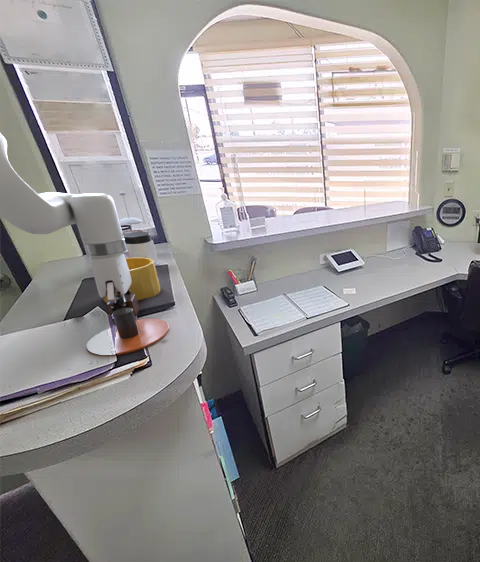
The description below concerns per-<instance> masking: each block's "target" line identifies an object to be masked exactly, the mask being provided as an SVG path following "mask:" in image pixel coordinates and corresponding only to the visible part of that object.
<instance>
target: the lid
mask: <svg viewBox="0 0 480 562" xmlns="http://www.w3.org/2000/svg"><path fill="white" fill-rule="evenodd" d="M112 314H113V317H114V320H113V321H114V323H115V324H114V325H116V327H117V332H116V337H115V351H116V354H117V355H116V356H120V355H125V354H130V353H135V352H137V351H140V350H143V349H145V348H147V347H150V346H152V345H154V344H156V343H157V342H159V341H160V340H162V339H164V338H165V336H166V335H168V332H169V330H170V327H169V324H168V322H166V321H165V320H162V319H158V318H139V319H136V317H135V315H134V311H133V309H132V308H121V309H118V310H116V311H114V312H113V313H112Z"/></svg>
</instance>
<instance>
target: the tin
mask: <svg viewBox="0 0 480 562" xmlns="http://www.w3.org/2000/svg"><path fill="white" fill-rule="evenodd" d="M125 259H126V261H127V265H128V268H129V271H130V275H131V280H132V282H131V285H130V290H131V292H132V294H136V297H137V301H141V300H145V299H149V298H154V297H156V296H158V295H159V294H160V292H161V284H160V280H159V276H158V272H157V267H156V266H155V264H154V260H152V259H151V258H145V257H132V258H125ZM116 294H117V293H116ZM102 300H103V302H104V303H106V304H107V303H108V294H107V295H106V296H105V297H104V298H102Z"/></svg>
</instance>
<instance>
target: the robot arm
mask: <svg viewBox="0 0 480 562" xmlns="http://www.w3.org/2000/svg"><path fill="white" fill-rule="evenodd" d="M0 217H1V218H2V219H3V220H5V221H7V222H8V223H9V224H11V225H12V226H13V227H16V228H17V229H18V230H19V229H20V230H21V231H22V232H26V233H29V234H33V235H48V234H52V233H54V232H56V231H59V230H61V229H63V228H66V227H68V226H71V225H76V226H77V229H78V232H79V233H78V234H79V235H80V239H81V242H82V244H83V248H84V251H85V253H86V257H87V258H89V259H90V262H91V268H92V274H93V278H94V281H95V286H96V289H97V292H98V296H99V297H100V298H101V299H103V298H104V297H105V296H106V295H107V294H108V302H109V303H110V305H111V308H112V311H113V312H114V311H116V310H118V309H121V308H129V306H128V305H126V301H125V296H124V295H128V294H132V292H131V290H130V285H131V282H132V280H131V275H130V271H129V268H128V265H127V261H126V259H125V254H126V253H127V252H128V251H127V247H126V243H125V240H124V236H123V235H124V234H123V230H122V229H123V228H122V225H121V224H120V221H119V220H120V219H119V215H118V210H117V207H116V204H115V201H114V198H113V197H112V196H111V195H109V194H106V193H102V192H101V193H100V192H99V193H98V192H92V193H91V192H90V193H89V192H88V193H86V192H85V193H78V194H77V193H65V192H56V191H48V192H46V191H45V192H41V193H37V191H35V190H34V189H33V188H32V187H31V186H30V185H29V184H28V183H26V181H25V180H24V179H23V178H22V177H20V175H19V174H18V173H17V171H15V169H14V168H13V166H12V164H11V163H10V161H9V158H8V142H7V139H6V138H5V136H4V135H3V134H2V133H0ZM116 293H117V294H116ZM116 297H121V300H120V299H117V298H116Z"/></svg>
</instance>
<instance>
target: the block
mask: <svg viewBox="0 0 480 562" xmlns="http://www.w3.org/2000/svg"><path fill="white" fill-rule="evenodd" d="M124 296H125V301H126V305H128V306H129V308H132V309H133V311H134V315H135V318H136V317H137V316H138V314H139V311H140V308H141V307H140V305H139V300H137V297H136V294H128V295H124ZM116 298H117V299H120V300H121V297H116ZM106 307H107V311H108V313H109V316H110V315H112V313H113V311H112V308H111V305H110V303H109V302H108V303H106Z"/></svg>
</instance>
